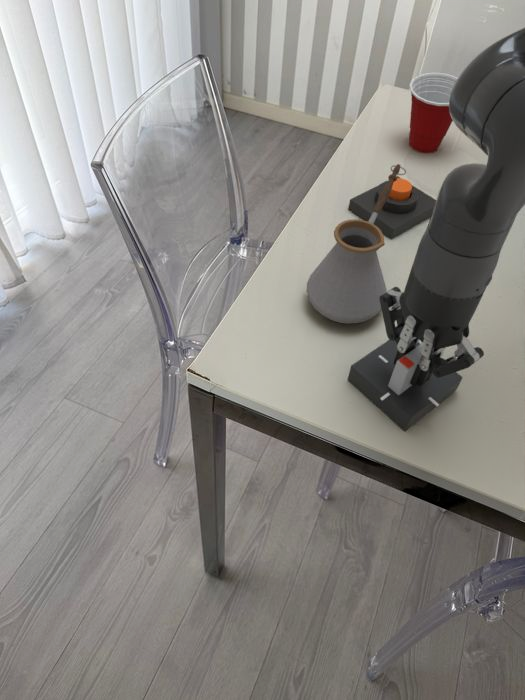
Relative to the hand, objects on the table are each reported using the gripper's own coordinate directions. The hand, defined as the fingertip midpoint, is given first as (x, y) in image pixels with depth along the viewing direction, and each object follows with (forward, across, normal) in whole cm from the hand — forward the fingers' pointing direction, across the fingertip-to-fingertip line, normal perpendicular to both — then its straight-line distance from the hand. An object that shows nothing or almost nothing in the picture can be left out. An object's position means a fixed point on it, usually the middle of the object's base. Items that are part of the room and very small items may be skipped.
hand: (409, 375), depth 70 cm
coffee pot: (+4, -18, +10) cm, 21 cm away
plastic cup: (+4, -38, +49) cm, 62 cm away
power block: (+4, -27, +28) cm, 39 cm away
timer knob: (+1, 0, 0) cm, 1 cm away
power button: (0, -27, +28) cm, 39 cm away
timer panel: (+4, -1, +1) cm, 4 cm away
